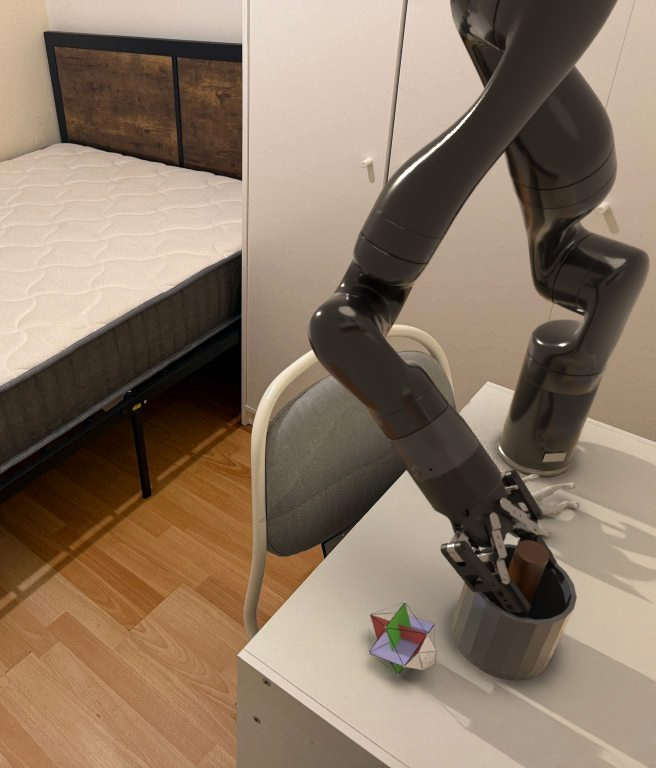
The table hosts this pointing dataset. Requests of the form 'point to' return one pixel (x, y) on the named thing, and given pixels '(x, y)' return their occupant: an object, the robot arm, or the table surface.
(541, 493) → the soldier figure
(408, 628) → the geometric puzzle
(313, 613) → the table surface
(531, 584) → the cylinder
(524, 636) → the tin
